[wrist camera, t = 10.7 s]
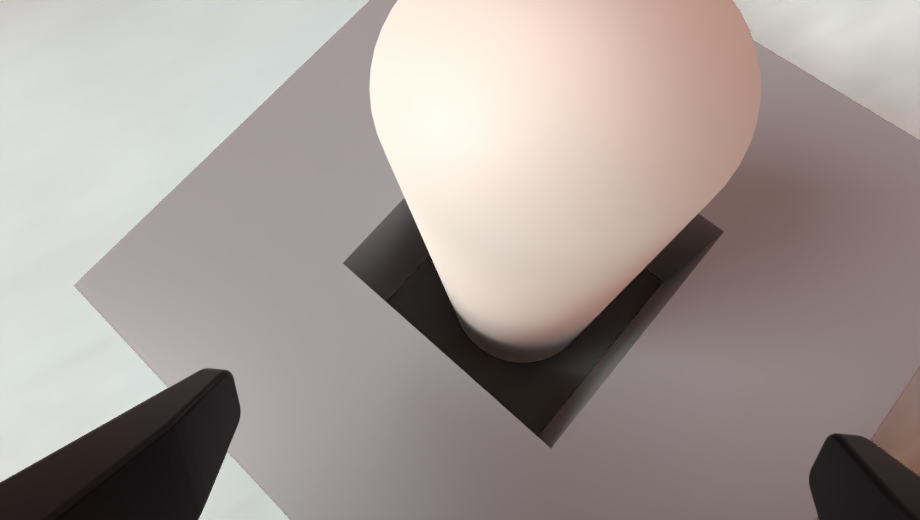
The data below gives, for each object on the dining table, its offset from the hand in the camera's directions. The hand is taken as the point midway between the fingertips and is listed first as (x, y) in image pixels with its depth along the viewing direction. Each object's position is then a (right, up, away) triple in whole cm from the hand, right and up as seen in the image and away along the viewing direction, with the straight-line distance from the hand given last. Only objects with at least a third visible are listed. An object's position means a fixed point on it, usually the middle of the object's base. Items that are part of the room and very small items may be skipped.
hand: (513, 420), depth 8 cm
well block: (+1, +1, +9) cm, 10 cm away
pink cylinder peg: (+1, +1, +9) cm, 10 cm away
